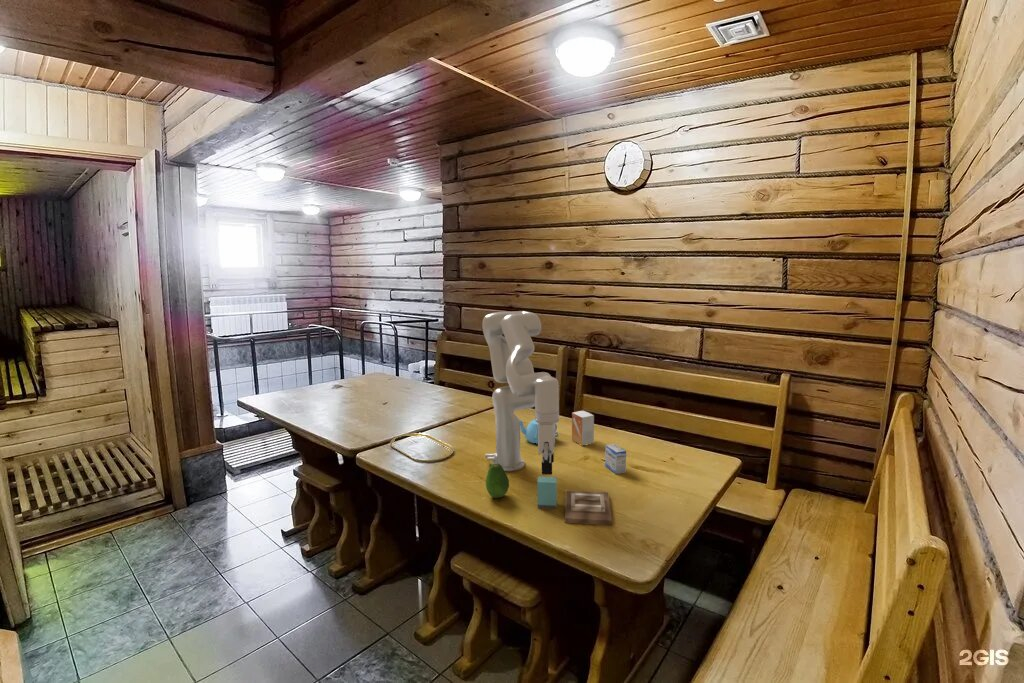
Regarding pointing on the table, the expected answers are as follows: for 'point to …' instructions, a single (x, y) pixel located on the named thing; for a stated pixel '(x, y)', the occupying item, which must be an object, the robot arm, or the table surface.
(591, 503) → the socket block
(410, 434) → the serving platter
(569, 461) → the table surface
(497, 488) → the avocado
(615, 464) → the medicine box
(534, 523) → the table surface
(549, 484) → the plug
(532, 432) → the teapot
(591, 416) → the small box
